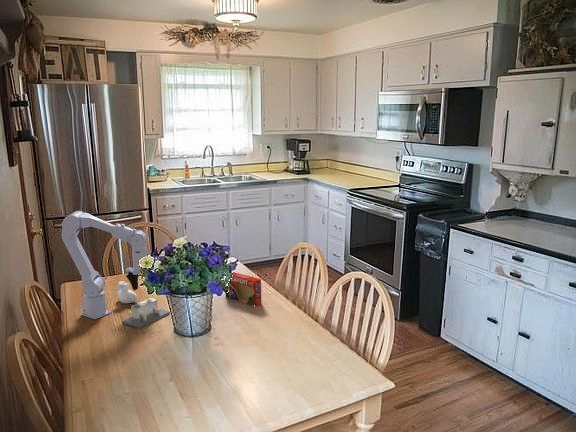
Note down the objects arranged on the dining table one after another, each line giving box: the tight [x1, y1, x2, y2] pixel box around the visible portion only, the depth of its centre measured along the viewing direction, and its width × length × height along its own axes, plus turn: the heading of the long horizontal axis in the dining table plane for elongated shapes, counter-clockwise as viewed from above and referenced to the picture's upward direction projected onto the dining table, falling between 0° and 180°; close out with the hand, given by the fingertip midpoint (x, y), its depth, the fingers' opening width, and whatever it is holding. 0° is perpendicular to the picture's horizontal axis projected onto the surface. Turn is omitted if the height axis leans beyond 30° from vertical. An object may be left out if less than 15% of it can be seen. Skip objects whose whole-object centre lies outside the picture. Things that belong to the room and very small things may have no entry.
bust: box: [116, 280, 139, 305], centre depth 199 cm, size 12×8×11 cm
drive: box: [130, 297, 159, 322], centre depth 183 cm, size 4×10×6 cm, turn 148°
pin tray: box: [121, 307, 171, 330], centre depth 184 cm, size 10×16×4 cm, turn 148°
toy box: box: [225, 271, 262, 308], centre depth 200 cm, size 18×4×12 cm, turn 54°
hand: (142, 290), depth 188 cm, fingers open, 7 cm apart
